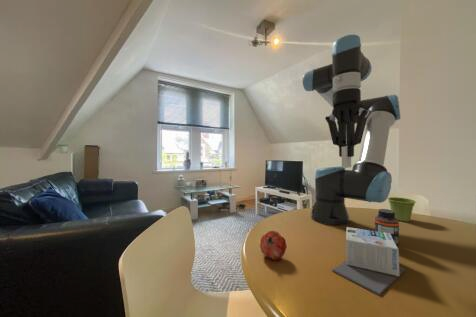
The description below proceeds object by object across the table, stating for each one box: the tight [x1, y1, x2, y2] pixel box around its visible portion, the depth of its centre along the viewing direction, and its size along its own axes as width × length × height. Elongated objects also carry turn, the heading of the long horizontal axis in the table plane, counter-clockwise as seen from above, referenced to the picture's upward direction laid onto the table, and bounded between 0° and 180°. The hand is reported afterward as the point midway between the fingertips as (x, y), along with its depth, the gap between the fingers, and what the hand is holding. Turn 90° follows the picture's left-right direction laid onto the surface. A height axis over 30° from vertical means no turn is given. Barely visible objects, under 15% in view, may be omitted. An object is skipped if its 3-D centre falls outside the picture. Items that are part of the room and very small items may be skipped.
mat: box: [331, 260, 405, 296], centre depth 48 cm, size 10×15×1 cm, turn 124°
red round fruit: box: [259, 230, 287, 261], centre depth 55 cm, size 7×7×10 cm
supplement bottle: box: [374, 208, 400, 249], centre depth 60 cm, size 6×6×11 cm
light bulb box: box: [345, 226, 400, 277], centre depth 51 cm, size 11×7×11 cm
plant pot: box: [387, 196, 417, 223], centre depth 84 cm, size 9×9×9 cm
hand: (346, 167), depth 60 cm, fingers closed
